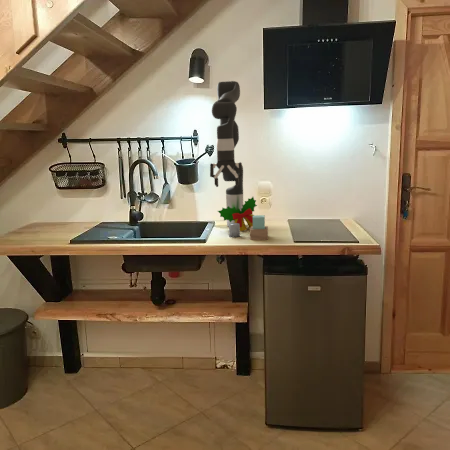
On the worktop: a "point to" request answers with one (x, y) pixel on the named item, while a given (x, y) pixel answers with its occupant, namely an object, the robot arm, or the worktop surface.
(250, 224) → the ornament
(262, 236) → the plinth
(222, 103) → the robot arm
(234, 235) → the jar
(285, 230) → the worktop surface
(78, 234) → the worktop surface
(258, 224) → the cube
